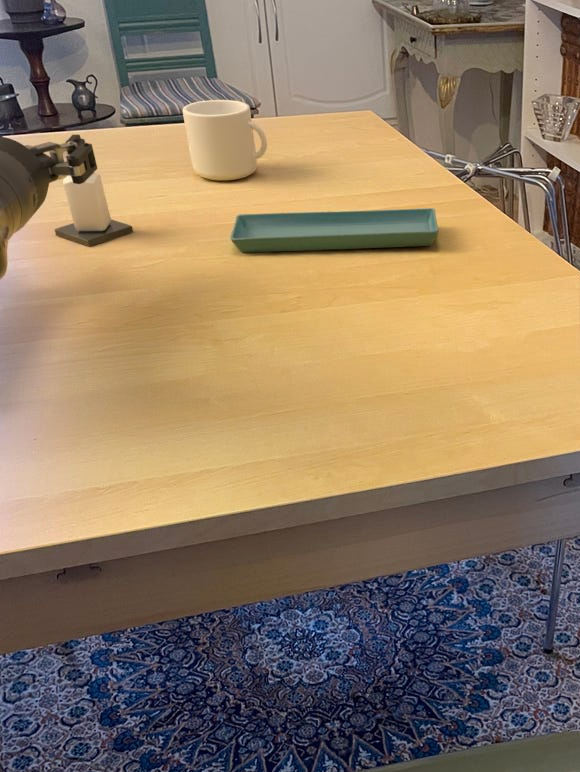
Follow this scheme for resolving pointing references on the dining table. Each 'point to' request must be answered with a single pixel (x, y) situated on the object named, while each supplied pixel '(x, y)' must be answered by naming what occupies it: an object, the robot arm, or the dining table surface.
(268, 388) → the dining table surface
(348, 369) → the dining table surface
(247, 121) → the mug
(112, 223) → the coaster
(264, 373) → the dining table surface
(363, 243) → the rectangular tray
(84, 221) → the salt shaker
